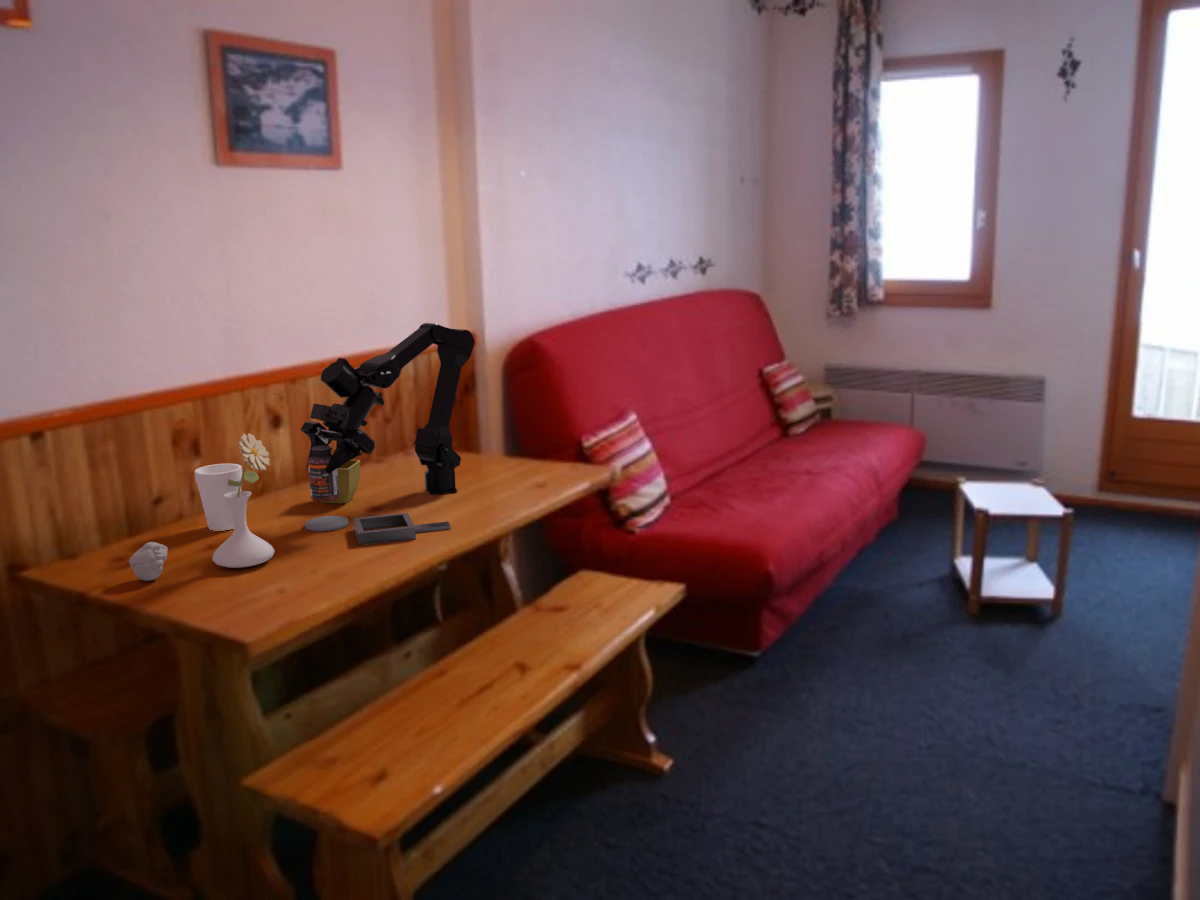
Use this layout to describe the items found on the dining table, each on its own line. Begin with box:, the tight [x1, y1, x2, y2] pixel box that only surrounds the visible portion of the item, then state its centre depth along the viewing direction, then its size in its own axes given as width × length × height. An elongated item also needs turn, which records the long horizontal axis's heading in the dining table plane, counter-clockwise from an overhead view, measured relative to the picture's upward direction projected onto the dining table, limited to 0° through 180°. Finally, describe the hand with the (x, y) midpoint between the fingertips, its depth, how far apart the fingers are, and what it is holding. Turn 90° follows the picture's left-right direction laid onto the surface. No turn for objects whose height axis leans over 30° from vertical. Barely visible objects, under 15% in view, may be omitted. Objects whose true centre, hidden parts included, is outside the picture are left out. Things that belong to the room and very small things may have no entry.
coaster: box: [304, 515, 349, 533], centre depth 222 cm, size 9×9×1 cm
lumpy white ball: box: [128, 541, 169, 582], centre depth 191 cm, size 6×7×7 cm
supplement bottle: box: [307, 445, 339, 503], centre depth 220 cm, size 6×6×11 cm
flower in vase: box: [211, 433, 276, 569], centre depth 197 cm, size 13×11×25 cm
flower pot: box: [324, 459, 361, 504], centre depth 240 cm, size 9×9×9 cm
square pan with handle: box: [352, 512, 451, 546], centre depth 216 cm, size 19×11×2 cm, turn 108°
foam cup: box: [194, 463, 243, 532], centre depth 221 cm, size 10×9×13 cm
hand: (317, 470), depth 219 cm, fingers closed on supplement bottle, 6 cm apart
